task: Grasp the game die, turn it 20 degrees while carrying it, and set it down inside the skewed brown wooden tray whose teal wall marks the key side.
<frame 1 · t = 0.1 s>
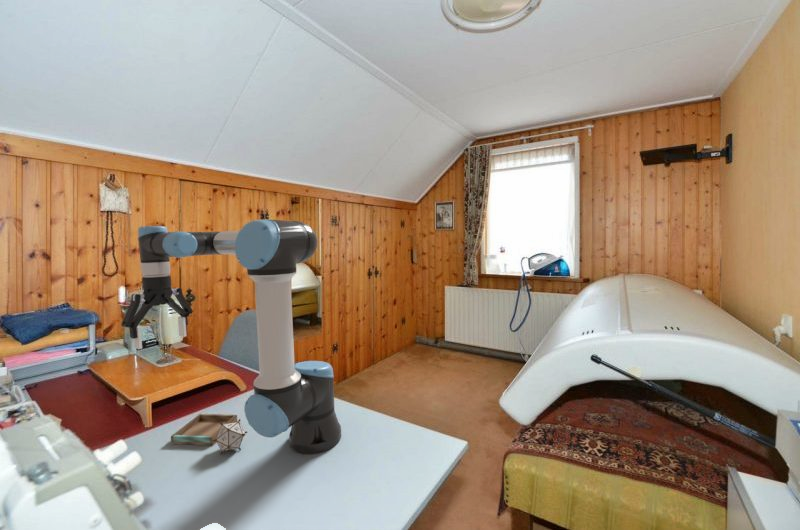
hand: (161, 341, 111), 28 cm above the table, fingers open, 13 cm apart
game die: (231, 450, 100), on the table
brown wooden tray: (206, 432, 109), on the table
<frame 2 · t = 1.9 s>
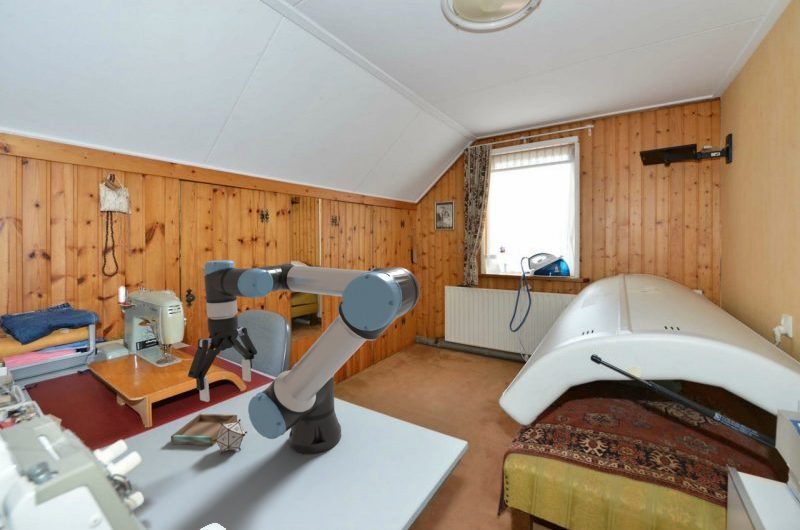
hand: (227, 390, 99), 18 cm above the table, fingers open, 13 cm apart
nothing on the table moved.
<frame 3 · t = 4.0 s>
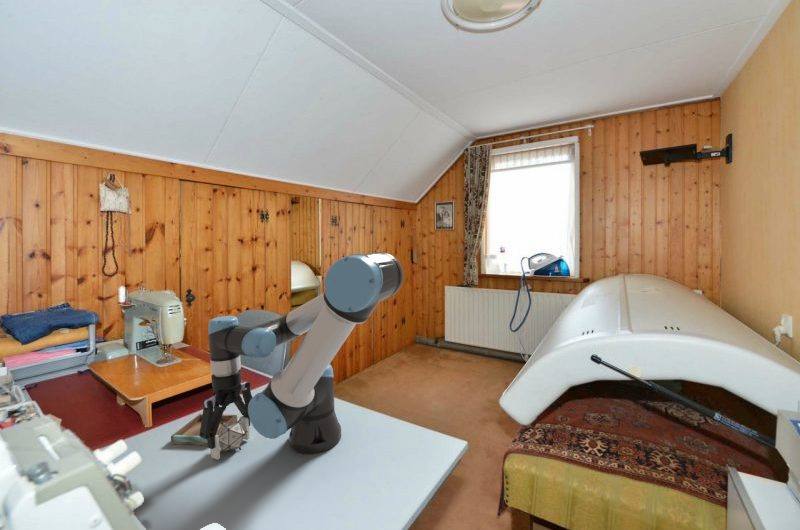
hand: (231, 447, 100), 1 cm above the table, fingers closed on game die, 9 cm apart
game die: (231, 449, 100), on the table, touching gripper
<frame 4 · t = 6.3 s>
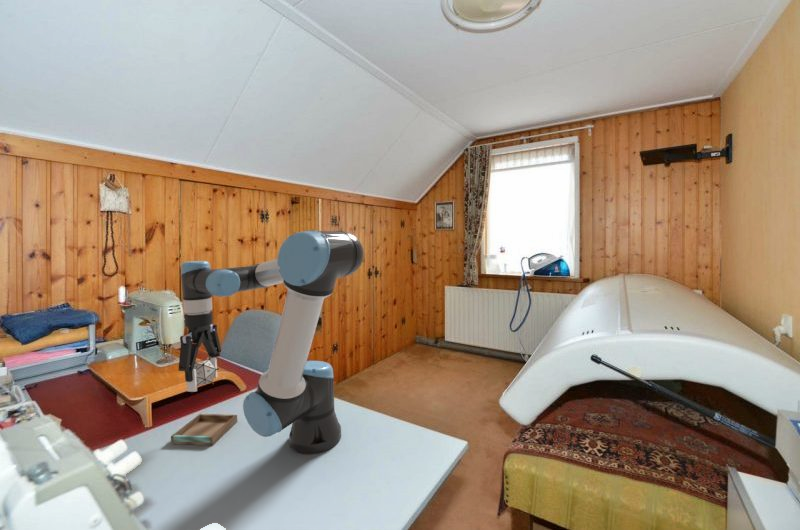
hand: (203, 383, 108), 16 cm above the table, fingers closed on game die, 9 cm apart
game die: (203, 385, 108), point 15 cm above the table, touching gripper
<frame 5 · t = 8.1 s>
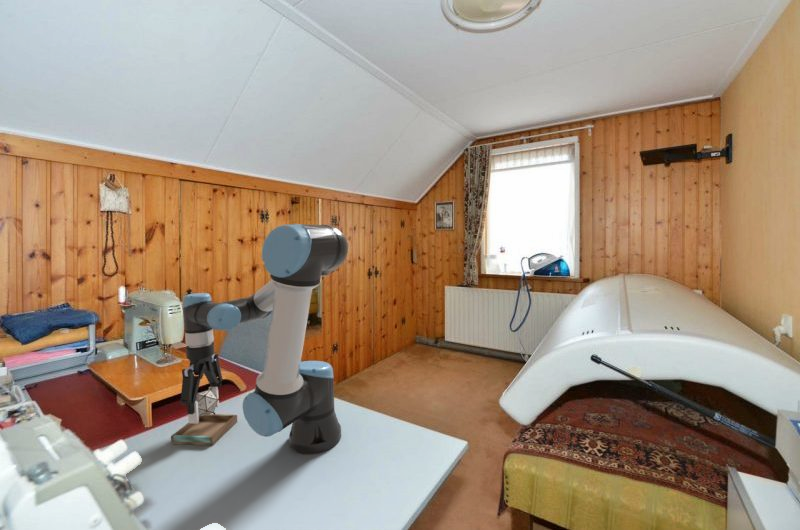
hand: (204, 414, 109), 6 cm above the table, fingers closed on game die, 9 cm apart
game die: (205, 416, 109), point 5 cm above the table, touching gripper
when the fingers open (3 cm above the table, at t = 9.1 s): game die drops 2 cm, resting on brown wooden tray.
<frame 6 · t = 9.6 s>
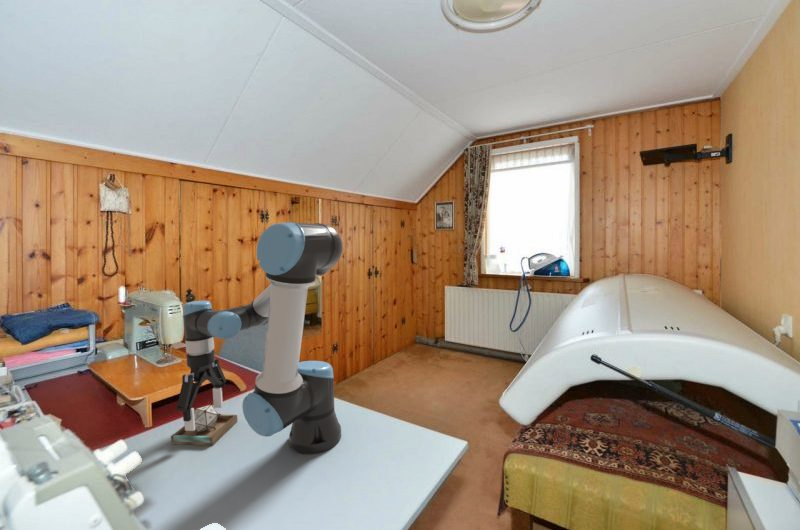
hand: (205, 417, 109), 5 cm above the table, fingers open, 13 cm apart
game die: (205, 431, 109), point 1 cm above the table, touching brown wooden tray
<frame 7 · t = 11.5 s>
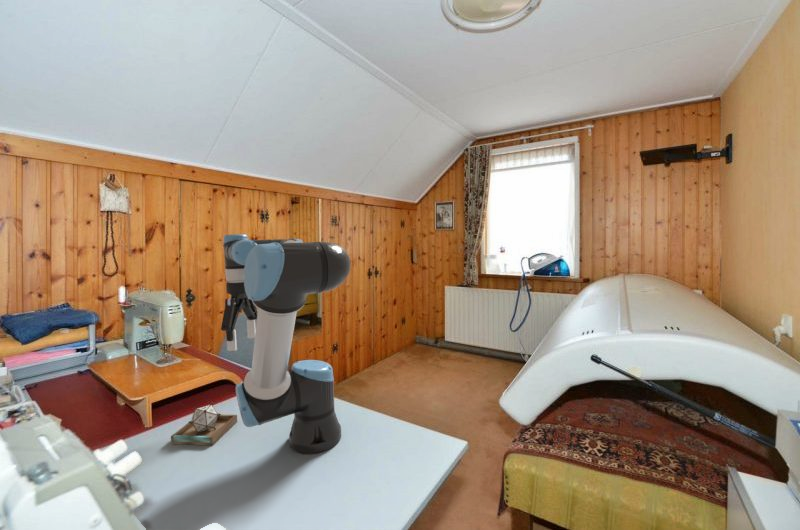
hand: (242, 344, 117), 25 cm above the table, fingers open, 13 cm apart
nothing on the table moved.
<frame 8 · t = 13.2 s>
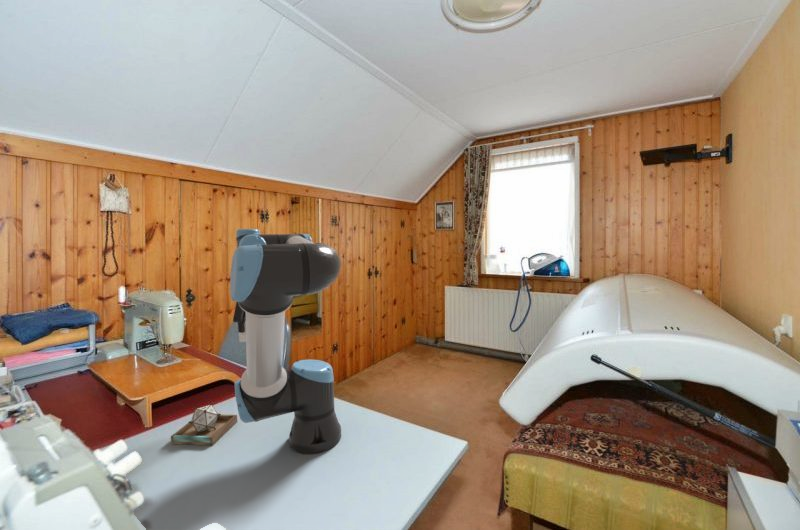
hand: (254, 335, 121), 27 cm above the table, fingers open, 13 cm apart
nothing on the table moved.
at the end: game die 0.4 cm from the brown wooden tray (horizontally); game die touching brown wooden tray; the gripper is holding nothing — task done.
